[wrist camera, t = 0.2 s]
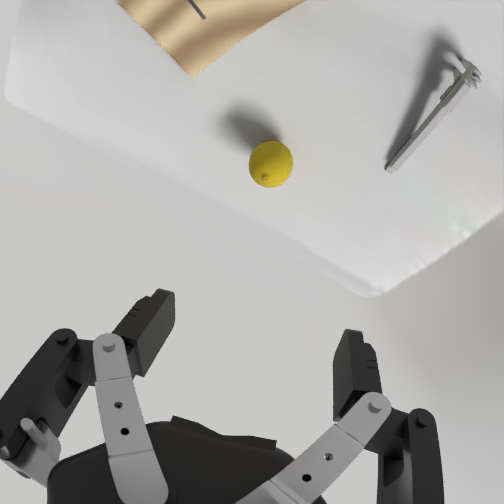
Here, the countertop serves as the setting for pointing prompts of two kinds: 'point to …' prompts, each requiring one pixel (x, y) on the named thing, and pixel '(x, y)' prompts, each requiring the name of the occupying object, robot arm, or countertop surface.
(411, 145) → the caliper
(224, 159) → the countertop surface
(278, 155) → the lemon
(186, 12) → the plywood board
